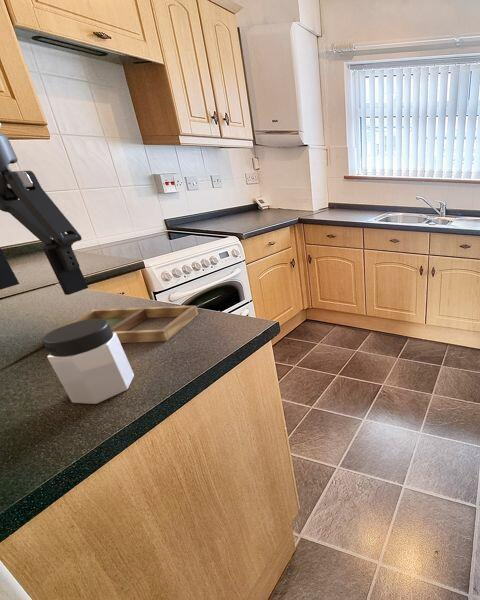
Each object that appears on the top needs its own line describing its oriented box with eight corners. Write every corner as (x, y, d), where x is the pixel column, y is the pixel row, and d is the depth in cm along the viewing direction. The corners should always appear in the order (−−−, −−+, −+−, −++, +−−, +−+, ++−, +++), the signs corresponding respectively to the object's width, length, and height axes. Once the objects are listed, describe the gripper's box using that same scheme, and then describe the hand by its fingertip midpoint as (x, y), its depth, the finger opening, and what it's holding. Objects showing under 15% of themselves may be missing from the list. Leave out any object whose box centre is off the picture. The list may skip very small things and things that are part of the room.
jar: (86, 381, 62) (56, 323, 57) (138, 369, 65) (115, 313, 60) (64, 412, 54) (28, 349, 49) (125, 397, 57) (96, 336, 52)
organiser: (48, 346, 74) (43, 336, 73) (97, 318, 87) (93, 309, 86) (166, 341, 74) (163, 331, 73) (198, 314, 87) (196, 305, 86)
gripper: (72, 127, 43) (132, 283, 51) (-67, 136, 47) (9, 277, 56) (-3, 123, 36) (80, 303, 45) (-156, 134, 41) (-54, 294, 49)
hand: (41, 289), depth 50 cm, fingers open, 13 cm apart
